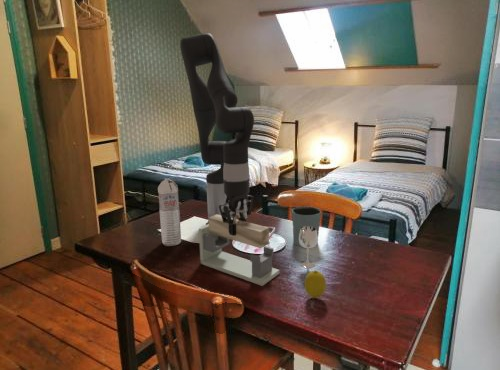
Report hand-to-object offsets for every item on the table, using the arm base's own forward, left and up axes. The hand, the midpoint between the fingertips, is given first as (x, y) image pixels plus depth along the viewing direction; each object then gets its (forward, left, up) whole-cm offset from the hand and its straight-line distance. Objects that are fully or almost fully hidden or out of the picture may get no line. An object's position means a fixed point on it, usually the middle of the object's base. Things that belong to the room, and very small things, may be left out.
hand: (237, 232), depth 119 cm
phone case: (-25, -10, -13) cm, 30 cm away
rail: (0, 0, -2) cm, 2 cm away
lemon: (+1, +27, -12) cm, 30 cm away
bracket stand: (0, 0, -12) cm, 12 cm away
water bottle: (-2, -32, -12) cm, 34 cm away
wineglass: (-15, +16, -12) cm, 25 cm away
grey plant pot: (-30, +7, -12) cm, 33 cm away
